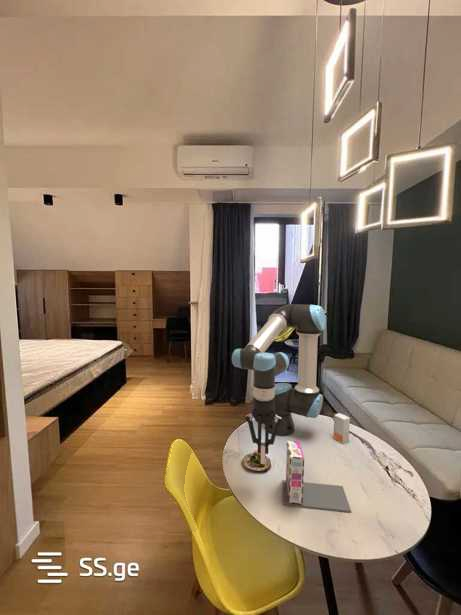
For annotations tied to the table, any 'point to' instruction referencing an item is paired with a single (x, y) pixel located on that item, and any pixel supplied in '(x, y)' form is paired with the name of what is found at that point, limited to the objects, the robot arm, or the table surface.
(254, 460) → the plate of food
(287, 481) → the candy bar box
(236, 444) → the table surface
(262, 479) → the table surface
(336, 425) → the skincare box
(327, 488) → the mat
